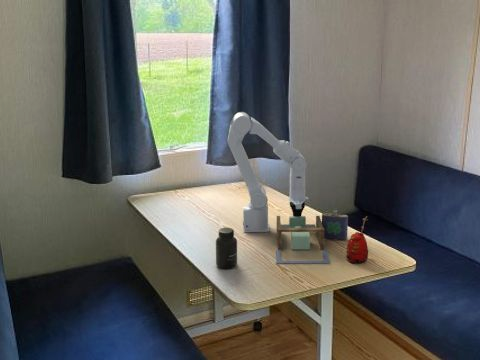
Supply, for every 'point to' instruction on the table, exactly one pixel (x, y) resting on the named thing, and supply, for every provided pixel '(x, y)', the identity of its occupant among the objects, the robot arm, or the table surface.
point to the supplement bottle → (226, 249)
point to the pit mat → (306, 226)
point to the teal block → (299, 233)
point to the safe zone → (325, 255)
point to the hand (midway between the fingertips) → (296, 221)
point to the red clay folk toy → (357, 247)
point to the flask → (335, 226)
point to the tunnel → (318, 230)
